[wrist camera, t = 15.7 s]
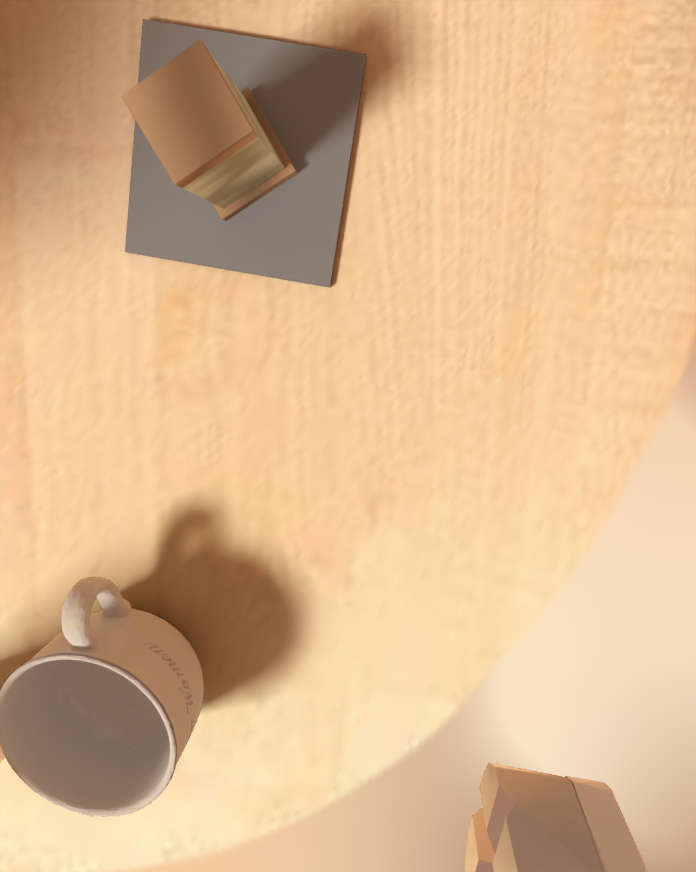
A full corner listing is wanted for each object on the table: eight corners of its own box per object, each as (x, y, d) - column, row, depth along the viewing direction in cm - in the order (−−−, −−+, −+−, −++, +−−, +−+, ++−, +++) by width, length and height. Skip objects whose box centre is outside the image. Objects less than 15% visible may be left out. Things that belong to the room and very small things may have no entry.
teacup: (205, 741, 43) (164, 840, 35) (57, 708, 43) (-18, 799, 35) (234, 562, 40) (195, 628, 32) (73, 528, 40) (-6, 585, 32)
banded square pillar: (225, 221, 34) (172, 198, 26) (178, 142, 34) (108, 93, 25) (297, 173, 33) (265, 134, 25) (251, 91, 33) (202, 23, 24)
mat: (128, 252, 36) (125, 252, 35) (145, 22, 33) (143, 18, 32) (330, 287, 35) (329, 287, 35) (366, 57, 32) (365, 54, 32)
